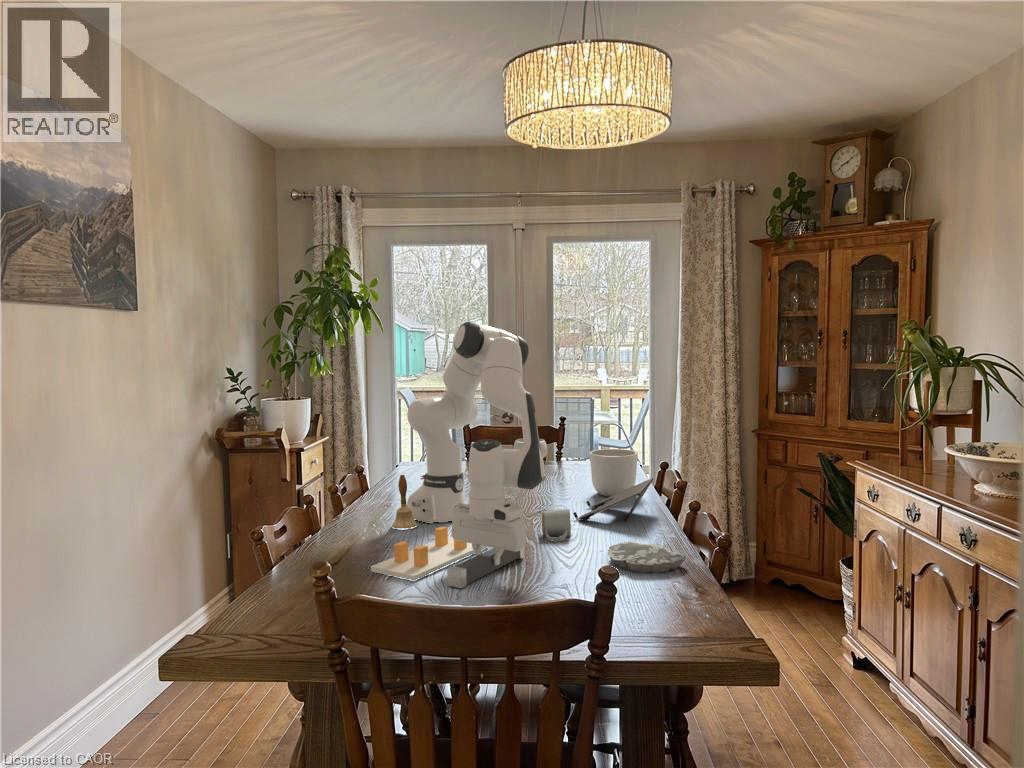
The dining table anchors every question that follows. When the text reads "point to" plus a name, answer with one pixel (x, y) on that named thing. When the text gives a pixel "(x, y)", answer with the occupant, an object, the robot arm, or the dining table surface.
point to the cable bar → (478, 567)
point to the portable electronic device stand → (618, 500)
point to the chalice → (543, 447)
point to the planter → (613, 470)
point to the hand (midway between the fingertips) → (488, 562)
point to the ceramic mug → (556, 524)
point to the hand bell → (403, 508)
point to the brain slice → (644, 557)
